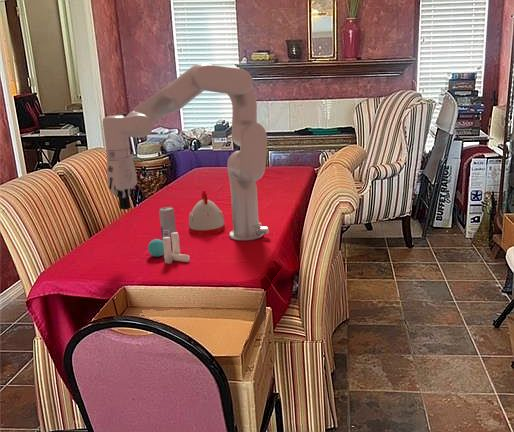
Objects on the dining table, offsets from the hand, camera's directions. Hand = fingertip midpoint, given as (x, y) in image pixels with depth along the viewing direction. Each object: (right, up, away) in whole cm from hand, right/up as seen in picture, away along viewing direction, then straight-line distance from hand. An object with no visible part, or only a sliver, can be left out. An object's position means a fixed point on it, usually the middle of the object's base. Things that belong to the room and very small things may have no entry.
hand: (125, 208), depth 186 cm
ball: (+10, -13, +3) cm, 17 cm away
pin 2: (+17, -16, +2) cm, 24 cm away
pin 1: (+15, -18, -3) cm, 23 cm away
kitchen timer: (+25, -8, +32) cm, 41 cm away
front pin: (+14, -16, 0) cm, 21 cm away
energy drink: (+12, -12, +21) cm, 26 cm away
